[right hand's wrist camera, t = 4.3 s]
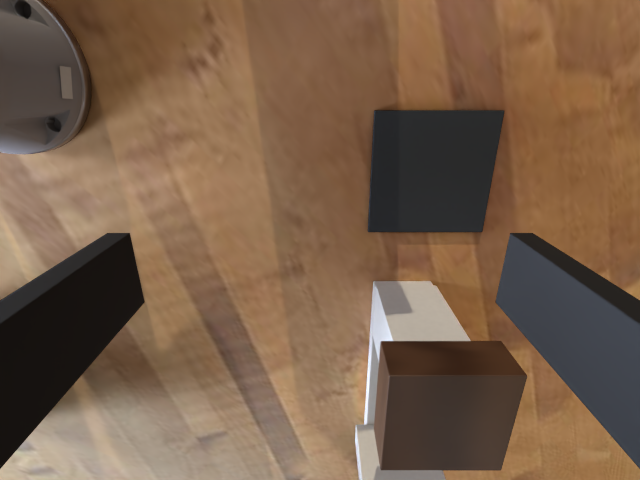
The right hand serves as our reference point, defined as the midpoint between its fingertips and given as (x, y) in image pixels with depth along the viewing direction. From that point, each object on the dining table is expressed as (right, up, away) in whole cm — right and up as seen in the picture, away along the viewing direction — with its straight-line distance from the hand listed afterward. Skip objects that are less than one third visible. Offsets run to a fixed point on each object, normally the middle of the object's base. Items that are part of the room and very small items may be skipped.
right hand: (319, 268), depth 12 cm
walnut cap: (+10, -12, +18) cm, 24 cm away
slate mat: (+12, +8, +26) cm, 29 cm away
